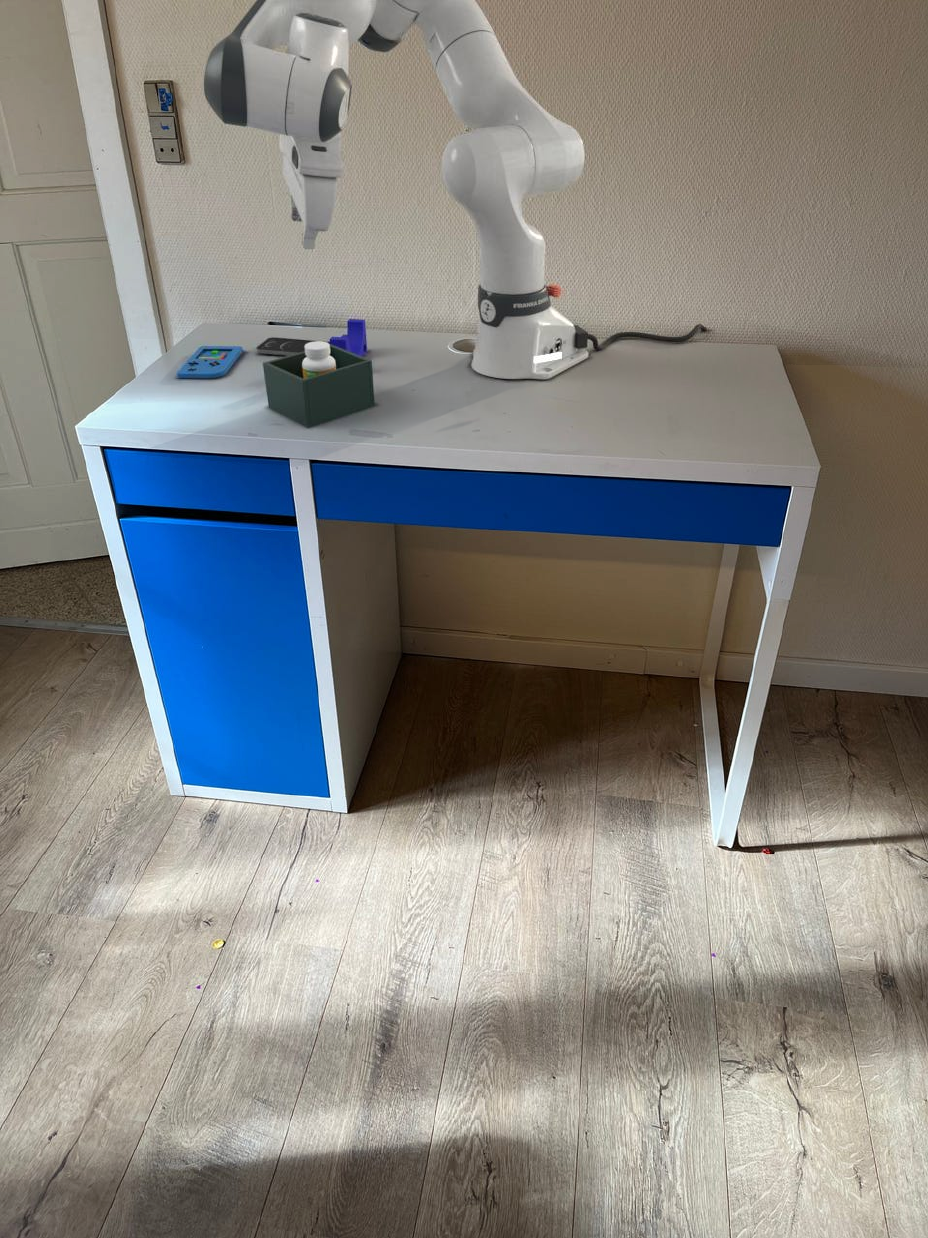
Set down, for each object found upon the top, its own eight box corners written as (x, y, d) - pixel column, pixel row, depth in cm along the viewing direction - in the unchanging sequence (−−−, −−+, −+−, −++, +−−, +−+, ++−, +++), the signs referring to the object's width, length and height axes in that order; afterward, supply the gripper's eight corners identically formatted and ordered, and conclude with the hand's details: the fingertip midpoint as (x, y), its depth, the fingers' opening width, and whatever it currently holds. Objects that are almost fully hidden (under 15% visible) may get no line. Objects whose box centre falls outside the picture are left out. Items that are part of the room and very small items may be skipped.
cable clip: (344, 350, 178) (341, 318, 174) (367, 351, 177) (365, 319, 173) (324, 371, 168) (321, 338, 165) (348, 373, 167) (345, 340, 164)
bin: (334, 387, 162) (330, 343, 157) (375, 405, 155) (371, 360, 150) (268, 407, 154) (262, 362, 150) (307, 427, 147) (302, 380, 143)
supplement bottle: (304, 409, 152) (297, 350, 146) (308, 397, 156) (302, 339, 151) (337, 409, 152) (331, 350, 146) (341, 397, 156) (335, 339, 151)
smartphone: (329, 355, 173) (253, 349, 175) (329, 360, 173) (254, 353, 176) (342, 342, 179) (269, 336, 181) (343, 347, 179) (270, 341, 182)
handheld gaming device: (175, 371, 165) (200, 344, 177) (176, 377, 166) (201, 349, 178) (221, 372, 165) (243, 344, 177) (222, 378, 165) (243, 350, 178)
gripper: (276, 111, 142) (270, 202, 152) (301, 166, 129) (293, 262, 139) (317, 116, 144) (309, 205, 154) (346, 171, 131) (335, 264, 141)
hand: (301, 232), depth 146 cm, fingers open, 8 cm apart
